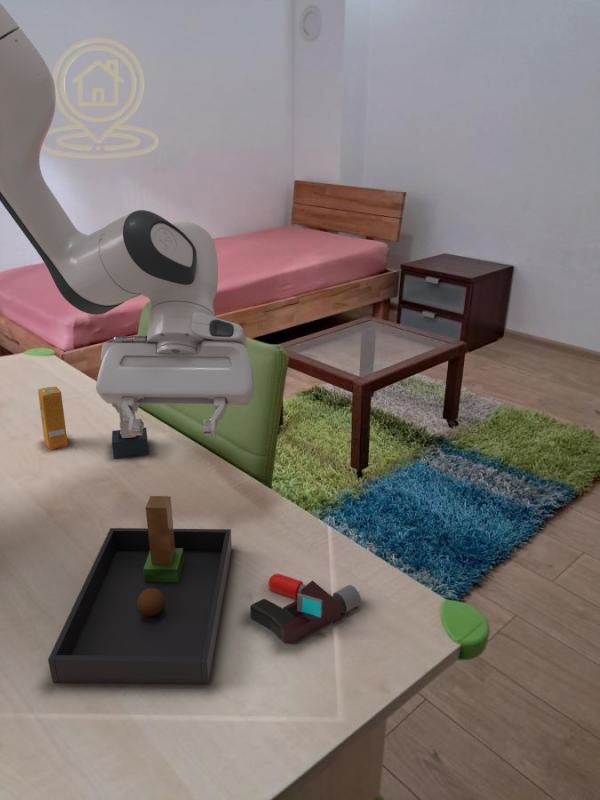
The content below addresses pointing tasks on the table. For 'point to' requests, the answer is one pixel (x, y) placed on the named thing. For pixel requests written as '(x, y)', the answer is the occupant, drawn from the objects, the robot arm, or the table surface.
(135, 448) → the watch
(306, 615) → the toy gun
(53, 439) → the supplement box
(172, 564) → the wooden post on base
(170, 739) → the table surface
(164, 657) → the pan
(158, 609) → the brown wooden ball
